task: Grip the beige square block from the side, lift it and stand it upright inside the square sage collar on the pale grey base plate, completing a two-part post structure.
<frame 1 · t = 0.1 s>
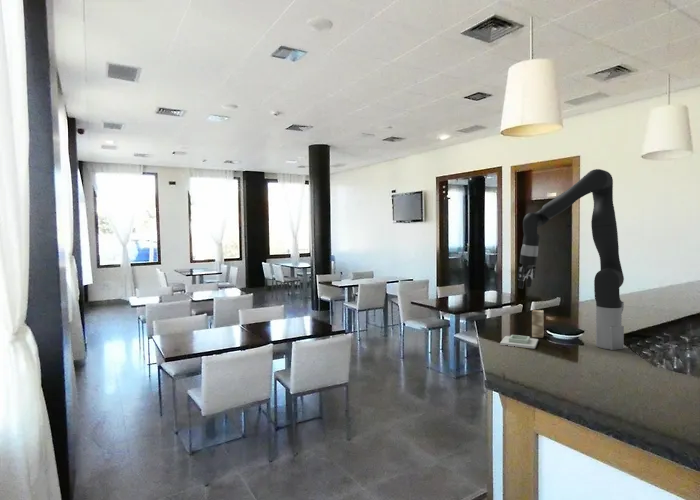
hand: (524, 287, 204), 22 cm above the counter, tool pointing down, fingers open, 8 cm apart
wine glass: (613, 332, 205), on the counter
base plate: (519, 343, 188), on the counter
beige square block: (537, 336, 200), on the counter
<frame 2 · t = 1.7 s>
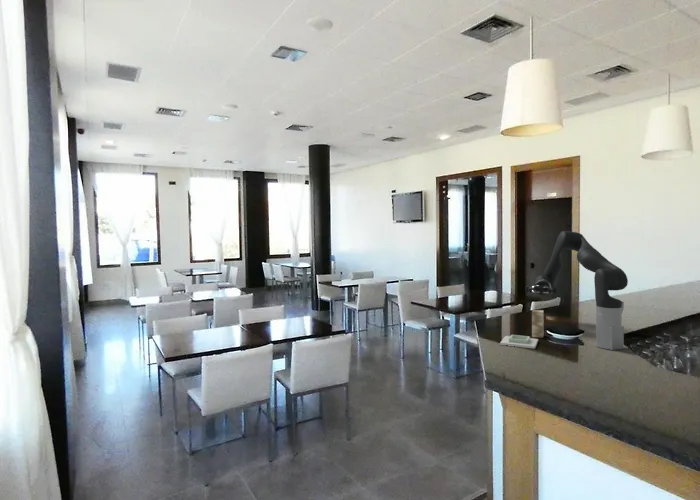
hand: (539, 291, 208), 20 cm above the counter, tool horizontal, fingers open, 8 cm apart
nothing on the counter moved.
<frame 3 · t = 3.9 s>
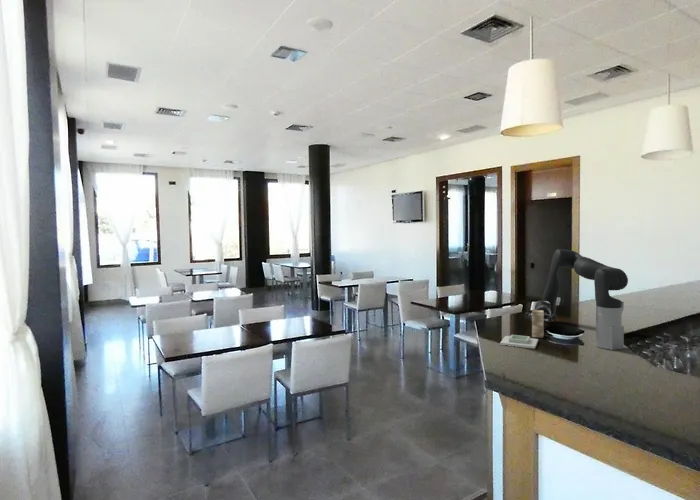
hand: (539, 319, 205), 7 cm above the counter, tool horizontal, fingers open, 8 cm apart
nothing on the counter moved.
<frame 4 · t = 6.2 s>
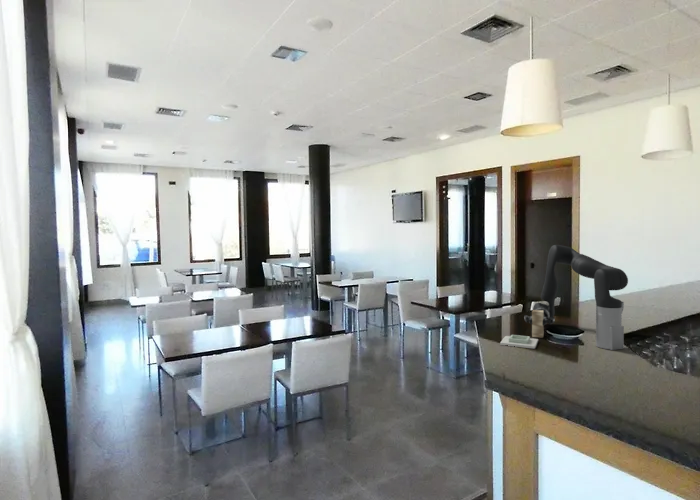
hand: (537, 322, 197), 7 cm above the counter, tool horizontal, fingers closed on beige square block, 4 cm apart
beige square block: (537, 336, 200), on the counter, touching gripper
everything else where it was.
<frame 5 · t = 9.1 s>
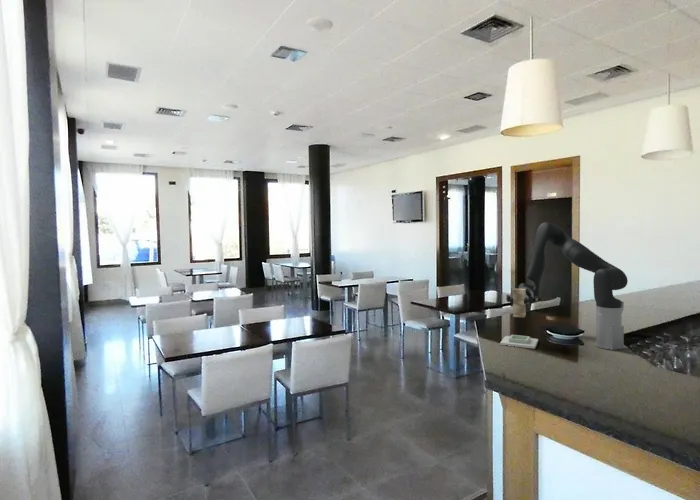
hand: (518, 301, 185), 19 cm above the counter, tool horizontal, fingers closed on beige square block, 4 cm apart
beige square block: (519, 316, 188), point 12 cm above the counter, touching gripper
everything else where it was.
when the fingers open (9 cm above the counter, at t = 12.0 s): beige square block stays where it is, resting on base plate.
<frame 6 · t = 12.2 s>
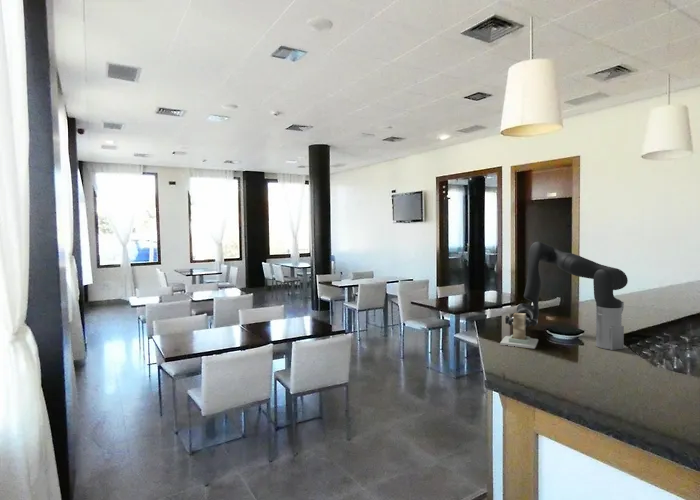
hand: (518, 323, 185), 9 cm above the counter, tool horizontal, fingers open, 6 cm apart
beige square block: (519, 340, 188), point 1 cm above the counter, touching base plate
everything else where it was.
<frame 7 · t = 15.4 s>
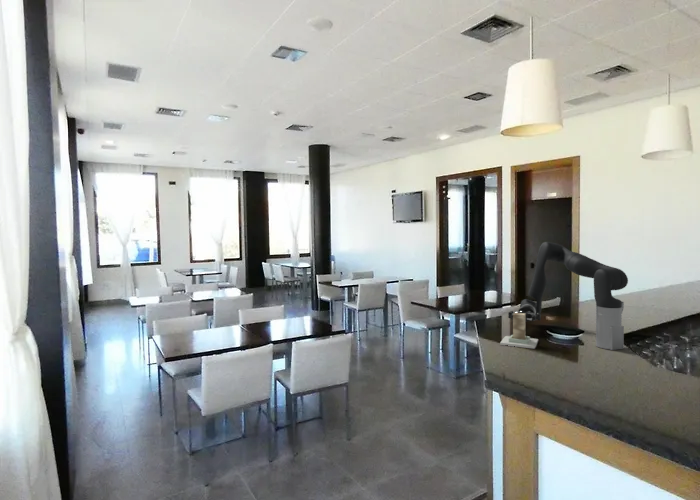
hand: (522, 318, 197), 9 cm above the counter, tool horizontal, fingers open, 8 cm apart
nothing on the counter moved.
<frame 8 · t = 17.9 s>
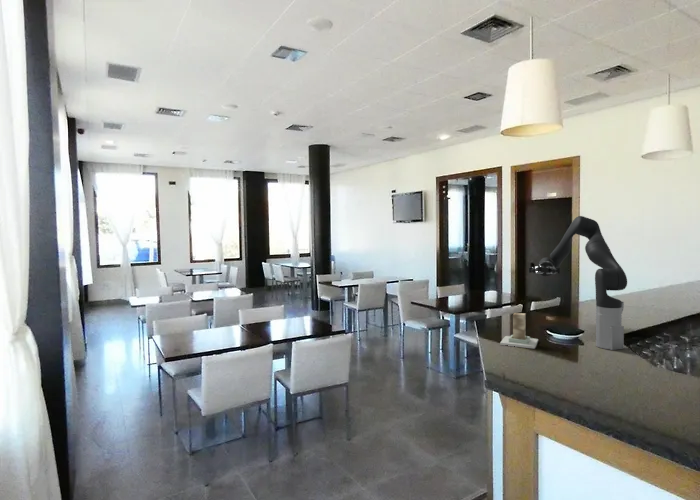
hand: (543, 271, 206), 30 cm above the counter, tool horizontal, fingers open, 8 cm apart
nothing on the counter moved.
at the end: beige square block 0.0 cm off-centre on the base plate, point 1.0 cm above the base plate's base; beige square block tilted 0°; the gripper is holding nothing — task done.
